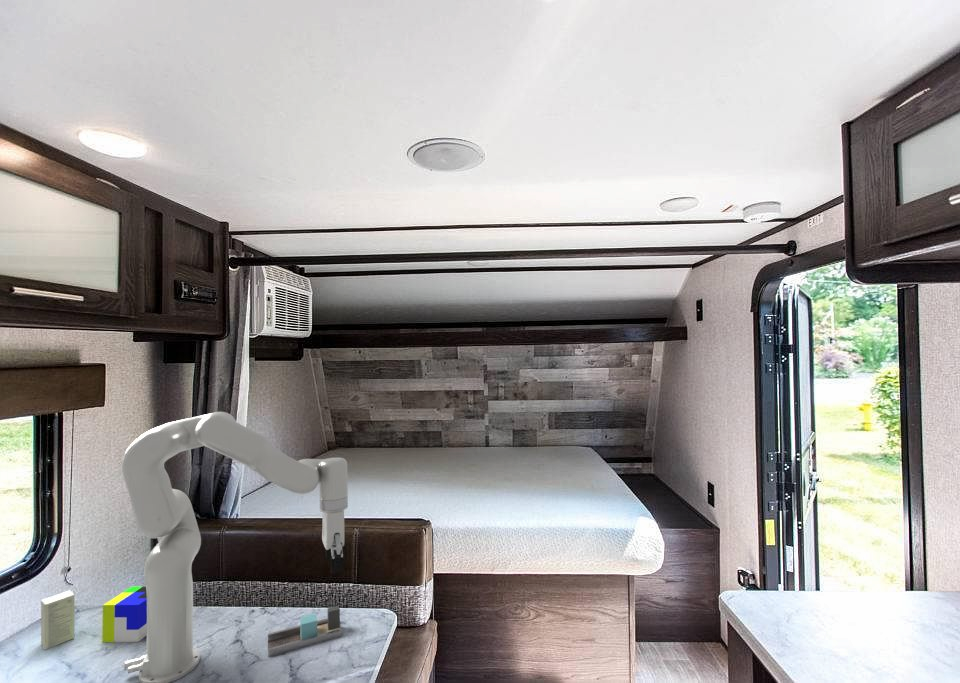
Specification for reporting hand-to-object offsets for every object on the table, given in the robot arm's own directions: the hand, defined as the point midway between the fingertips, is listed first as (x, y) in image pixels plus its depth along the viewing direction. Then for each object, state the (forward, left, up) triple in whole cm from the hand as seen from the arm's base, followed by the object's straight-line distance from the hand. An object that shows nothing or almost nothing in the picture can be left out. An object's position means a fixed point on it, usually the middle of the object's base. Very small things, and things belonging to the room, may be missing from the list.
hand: (334, 564), depth 126 cm
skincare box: (-69, +32, -19) cm, 78 cm away
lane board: (-8, 0, -18) cm, 20 cm away
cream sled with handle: (-4, 0, -18) cm, 18 cm away
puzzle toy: (-51, +28, -19) cm, 61 cm away
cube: (-7, 0, -17) cm, 18 cm away
